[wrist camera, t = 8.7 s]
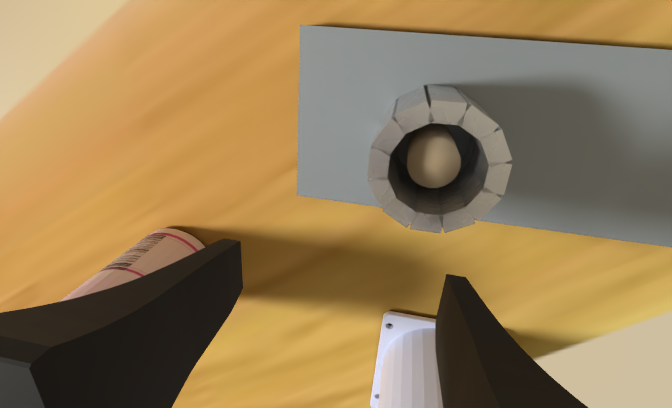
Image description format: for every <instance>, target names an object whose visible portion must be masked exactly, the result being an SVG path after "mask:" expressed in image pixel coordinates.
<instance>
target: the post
mask: <svg viewBox="0 0 672 408" xmlns="http://www.w3.org/2000/svg"><path fill="white" fill-rule="evenodd" d="M460 166H461V158H460V154H459V152H458V149H457V147H456V144H455V142H454V139H453V137H452V134H451V132H450V130H449V129H448V128H447V126H445V125H444V124H440V123H429V124H427V125H425V126H422V127H420V128H418V129H415V130H413V131H412V132H411V134H410V136H409V140H408V157H407V168H408V172H409V174H410V176H411V178H412V179H413V180H414V181H415V182H416V183H418V184H419V185H421V186H424V187H427V188H438V187H442V186H445V185H447V184H449V183H450V182H451V181H452V180H453V179H454V178H455V177H456V176H457V174H458V172H459V170H460Z"/></svg>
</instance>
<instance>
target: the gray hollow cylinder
mask: <svg viewBox="0 0 672 408" xmlns="http://www.w3.org/2000/svg"><path fill="white" fill-rule="evenodd" d="M429 123H440V124H450V125H459V126H461V127H462V128H463V129H465V130H466V131H467V132H469V133H470V139H469V143H468V148H467V153H466V154H465V155H464V156H463V157H462V159H461V166H460V170H459V172H458V174H457V176H456V177H455V178H454V179H453V180H452V181H451V182H450V183H449V184H447V185H445V186H442V187H438V188H427V187H424V186H421V185H419V184H418V183H416V182H415V181H414V180H413V179H412V178H411V176H410V174H409V172H408V168H407V166H406V165H404V164H403V163H402V162H401V161H400V159H399V157H398V155H397V152H396V150H395V147H396V146H397V145H398V143H399V142H400V141H401V139H402V138H403V137H404V136H405V134H406V133H408V132H411V131H413V130H415V129H418V128H420V127H422V126H425V125H427V124H429ZM510 160H512V157H511V154H510V151H509V148H508V146H507V143H506V140H505V137H504V134H503V131H502V129H501V128H500V127H499V125H498V124H497V123H496V122H495V121H494V120H493V119H492V118H491V117H490V116H489V114H488V113H487V112H486V111H485V110H484V109H483V108H482V107H481V106H480V105H479V104H478V103H476V102H475V101H474V100H472V99H471V98H470V97H468V96H467V95H466V94H464V93H463V92H462V91H460V90H459V89H458V88H456V89H455V88H454V87H452V86H440V85H427V88H426V91H425V88H424V85H423V86H420V87H418V88H416V89H414V90H412V91H410V92H408V93H405V94H403V95H401V96H399V100H398V99H396V100H395V101H394V103H393V104H392V106H391V107H390V108H389V110H388V111H387V113H386V114H385V115H384V117H383V118H382V120H381V122H380V125H379V127H378V130H377V132H376V135H375V137H374V140H373V142H372V145H371V148H370V154H369V164H368V174H367V178H369V180H368V184H369V186H370V188H371V190H372V192H373V194H374V196H375V198H376V200H377V202H378V205H379V207H380V208H381V207H383V212H385V213H386V214H388V215H389V216H391V217H392V218H393V219H395V220H396V221H398V222H399V223H401V224H402V225H404V226H405V227H406V228H407V227H408V226H409V224H410V223H411V228H410V229H413V230H420V231H427V232H434V233H441V229H442V227H443V230H444V232H445V233H447V232H450V231H453V230H456V229H459V228H462V227H465V226H469V225H472V224H475V222H474V219H473V217H474V218H475V219H477V220H478V221H480V220H481V219H482V218H483V217H484V216H485V215H486V214H487V213H488V212H489V211H490V210H491V209H492V208H493V207H494V206H495V205H496V204H497V203H498V202H499V201H500V200H501V199H502V198H501V197H500V195H504V193H505V190H506V186H507V182H508V179H509V175H510V171H511V168H512V163H511V162H510ZM499 194H500V195H499Z"/></svg>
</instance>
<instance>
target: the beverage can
mask: <svg viewBox="0 0 672 408" xmlns="http://www.w3.org/2000/svg"><path fill="white" fill-rule="evenodd" d="M203 248H205V246H204V245H203V244H202V243H201V242H200V241H199V240H197V239H196V238H195V237H193V236H192V235H190V234H188V233H186V232H183V231H180V230H177V229H170V228H165V229H159V230H156V231H153V232H152V233H150V234H149V235H148V236H146V237H145V238H144V239H142V240H141V241H140V242H138V243H137V244H136V245H134V246H133V247H132V248H130V249H129V250H128V251H126V252H125V253H124V254H122V255H121V256H119V257H118V258H117V259H115V260H114V261H113V262H111V263H110V264H109V265H107V266H106V267H105V268H103V269H102V270H101V271H99V272H98V273H97V274H95V275H94V276H93V277H91V278H90V279H89V280H87V281H86V282H85V283H83V284H82V285H81V286H79V287H78V288H77V289H75V290H74V291H73V292H71V293H70V294H69V295H67V296H66V297H65V298H63V299H62V300H61V301H65V300H69V299H73V298H77V297H81V296H84V295H88V294H91V293H95V292H98V291H102V290H105V289H109V288H112V287H115V286H118V285H120V284H123V283H126V282H129V281H132V280H134V279H137V278H140V277H142V276H145V275H147V274H149V273H152V272H154V271H156V270H158V269H161V268H163V267H165V266H167V265H170V264H172V263H174V262H176V261H178V260H180V259H182V258H184V257H186V256H189V255H191V254H193V253H195V252H197V251H199V250H201V249H203ZM61 301H59V302H61Z"/></svg>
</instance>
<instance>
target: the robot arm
mask: <svg viewBox="0 0 672 408" xmlns="http://www.w3.org/2000/svg"><path fill="white" fill-rule="evenodd" d="M242 289H243V280H242V262H241V243H240V241H236V240H230V239H222V240H220V241H217V242H215V243H213V244H211V245H209V246H207V247H205V248H203V249H201V250H199V251H197V252H195V253H193V254H191V255H189V256H186V257H184V258H182V259H180V260H178V261H176V262H174V263H172V264H170V265H167V266H165V267H163V268H161V269H158V270H156V271H154V272H152V273H149V274H147V275H145V276H142V277H140V278H137V279H134V280H132V281H129V282H126V283H123V284H120V285H118V286H115V287H112V288H109V289H105V290H102V291H98V292H95V293H91V294H88V295H84V296H81V297H77V298H73V299H69V300H65V301H61V302H57V303H52V304H47V305H43V306H38V307H33V308H27V309H21V310H15V311H9V312H3V313H0V408H172V406H173V404H174V402H175V400H176V398H177V396H178V394H179V393H180V391H181V389H182V387H183V385H184V383H185V382H186V380H187V378H188V376H189V374H190V373H191V371H192V369H193V368H194V366H195V365H196V363H197V362H198V360H199V359H200V357H201V356H202V354H203V353H204V351H205V350H206V348H207V347H208V345H209V344H210V342H211V341H212V339H213V338H214V337H215V335H216V334H217V332H218V331H219V329H220V328H221V326H222V325H223V323H224V322H225V320H226V319H227V317H228V316H229V314H230V313H231V311H232V309H233V307H234V305H235V303H236V301H237V299H238V297H239V295H240V293H241V291H242ZM387 323H391V324H392V325H388V324H387ZM378 394H379V395H378ZM370 406H371V407H372V408H588V407H587V406H585V405H584V404H583V403H581V402H580V401H579V400H578V399H576V398H575V397H574V396H573V395H572V394H570V393H569V392H568V391H567V390H565V389H564V388H563V387H562V386H561V385H560V384H558V383H557V382H556V381H555V380H554V379H553V378H552V377H551V376H549V375H548V374H547V373H546V372H545V371H544V370H543V369H542V368H541V367H540V366H539V365H538V364H537V363H536V362H535V361H534V360H533V359H532V358H531V357H530V356H529V355H528V354H527V353H526V352H525V351H524V350H523V349H522V348H521V347H520V346H519V345H518V344H517V343H516V342H515V341H514V339H513V338H512V337H511V336H510V335H509V334H508V333H507V331H506V330H505V329H504V328H503V327H502V326H501V324H500V323H499V322H498V321H497V319H496V318H495V317H494V315H493V314H492V313H491V312H490V310H489V309H488V308H487V306H486V305H485V304H484V302H483V301H482V299H481V298H480V297H479V295H478V294H477V292H476V291H475V290H474V288H473V287H472V285H471V284H470V283H469V281H468V280H467V278H466V277H460V276H454V275H448V274H446V279H445V283H444V287H443V292H442V296H441V300H440V305H439V309H438V313H437V318H436V319H432V318H426V317H421V316H415V315H409V314H404V313H398V312H393V311H388V312H386V313H384V315H383V321H382V328H381V334H380V341H379V347H378V354H377V361H376V367H375V374H374V380H373V387H372V394H371V400H370Z"/></svg>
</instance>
